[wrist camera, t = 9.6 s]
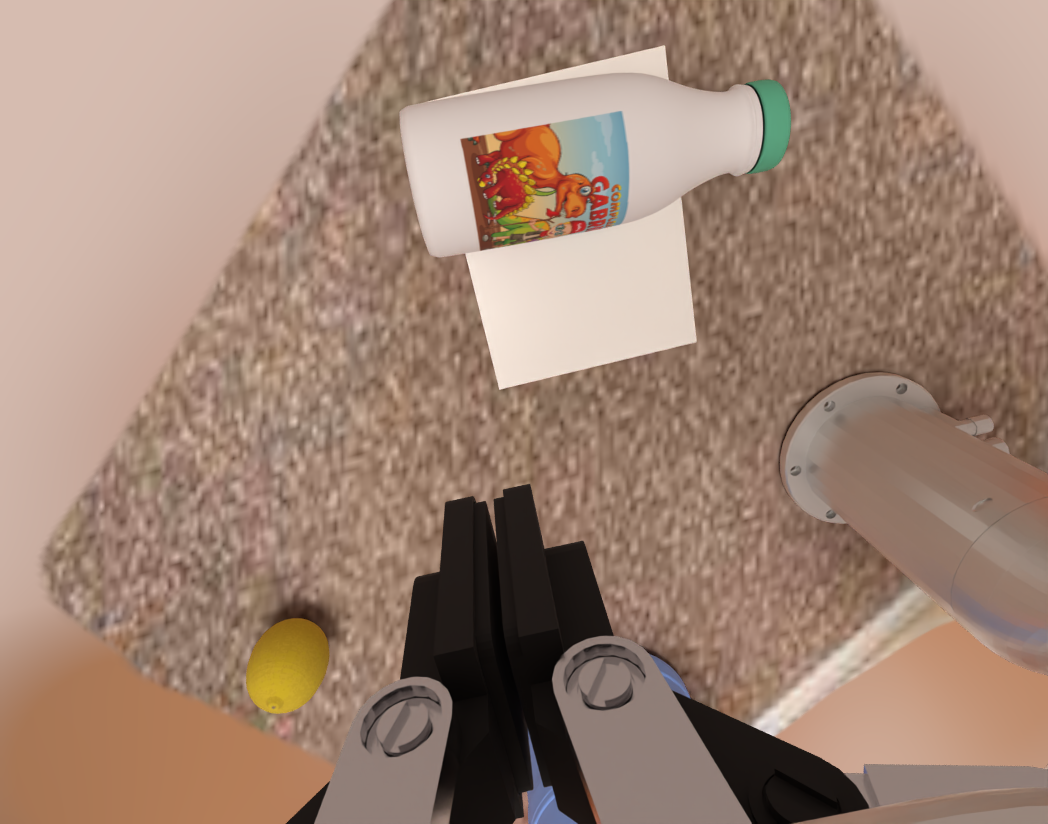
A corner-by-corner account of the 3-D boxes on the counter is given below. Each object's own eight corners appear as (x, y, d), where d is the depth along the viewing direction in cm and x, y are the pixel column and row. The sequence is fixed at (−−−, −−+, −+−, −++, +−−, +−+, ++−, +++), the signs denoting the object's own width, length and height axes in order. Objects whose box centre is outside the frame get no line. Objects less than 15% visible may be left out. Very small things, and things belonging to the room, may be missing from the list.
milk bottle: (386, 81, 27) (803, 13, 28) (407, 134, 35) (734, 79, 35) (420, 251, 28) (818, 181, 29) (433, 266, 36) (749, 210, 37)
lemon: (299, 662, 49) (270, 748, 41) (252, 620, 47) (211, 703, 39) (352, 629, 48) (332, 711, 40) (306, 585, 46) (276, 663, 38)
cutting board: (659, 48, 35) (664, 45, 34) (691, 338, 41) (696, 342, 40) (428, 103, 34) (427, 101, 33) (498, 384, 41) (499, 389, 40)
